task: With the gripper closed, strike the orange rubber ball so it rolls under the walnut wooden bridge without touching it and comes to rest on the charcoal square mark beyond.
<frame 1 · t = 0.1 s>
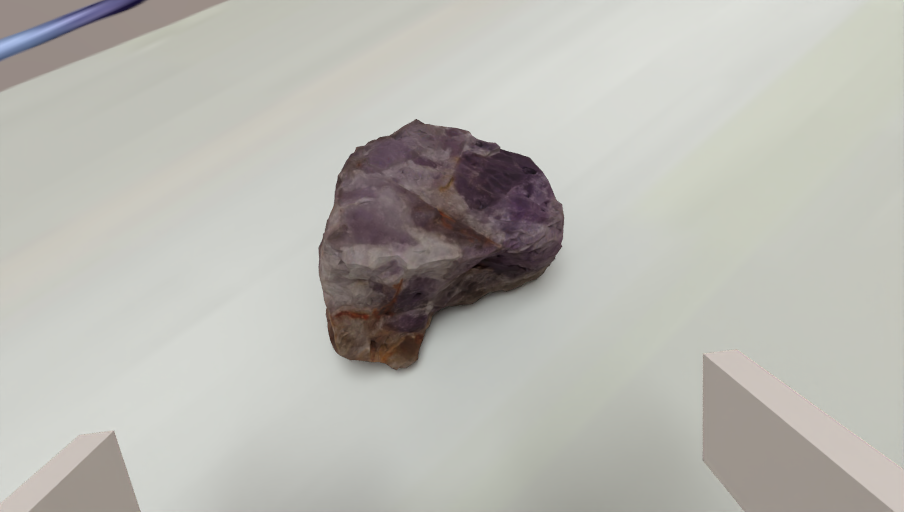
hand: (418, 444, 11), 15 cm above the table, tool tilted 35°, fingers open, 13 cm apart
rock: (431, 265, 29), on the table
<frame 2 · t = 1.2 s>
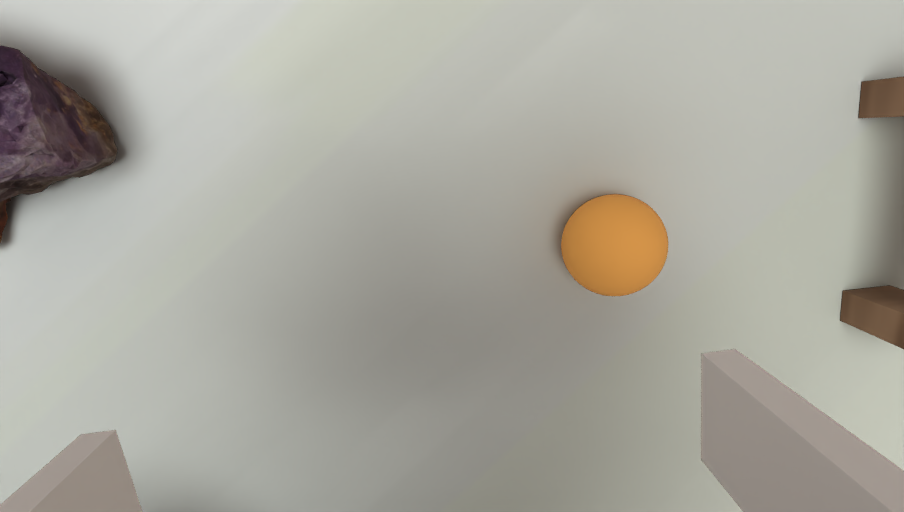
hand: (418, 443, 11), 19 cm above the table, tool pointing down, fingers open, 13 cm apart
ball: (613, 245, 27), on the table
bridge: (874, 205, 30), on the table
rock: (8, 136, 27), on the table
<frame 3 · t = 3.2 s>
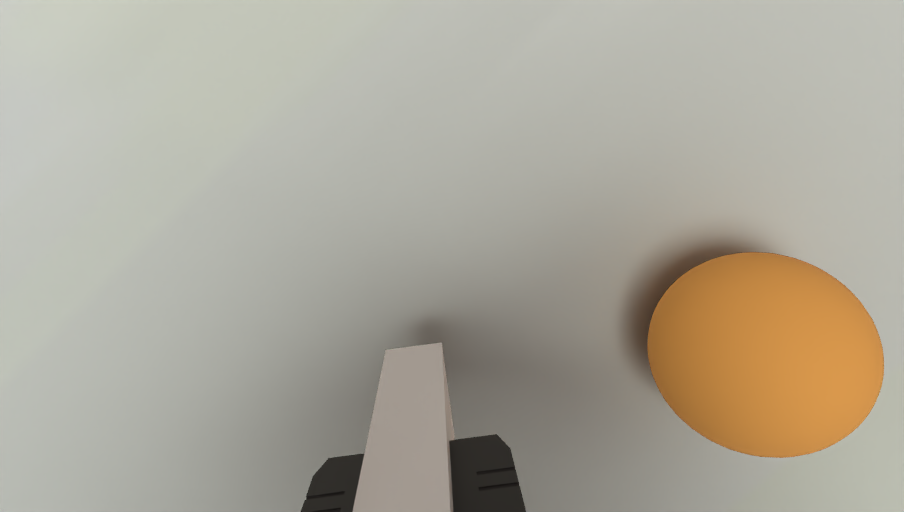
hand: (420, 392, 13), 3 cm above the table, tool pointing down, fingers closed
ball: (753, 351, 14), on the table
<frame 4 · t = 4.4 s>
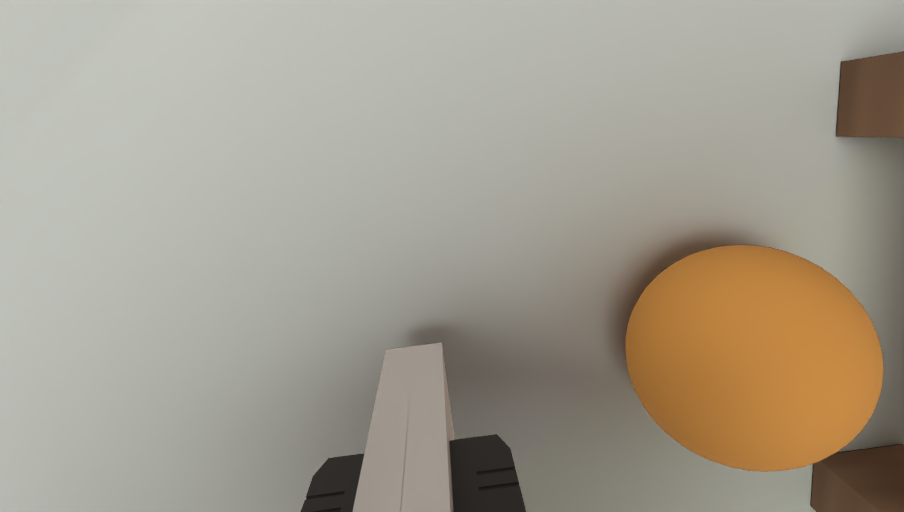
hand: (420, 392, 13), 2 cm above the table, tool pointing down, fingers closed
ball: (740, 353, 13), on the table
bridge: (872, 303, 16), on the table
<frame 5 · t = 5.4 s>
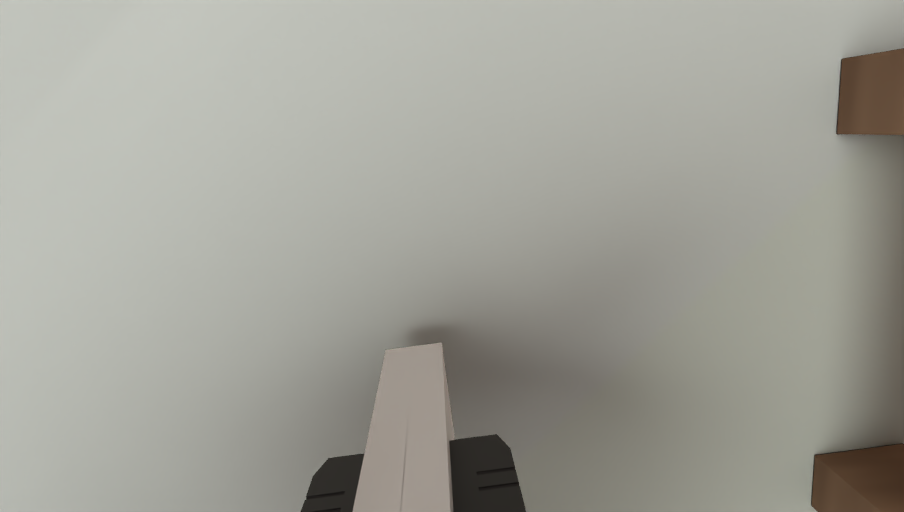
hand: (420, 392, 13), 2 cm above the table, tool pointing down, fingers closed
bridge: (873, 302, 15), on the table
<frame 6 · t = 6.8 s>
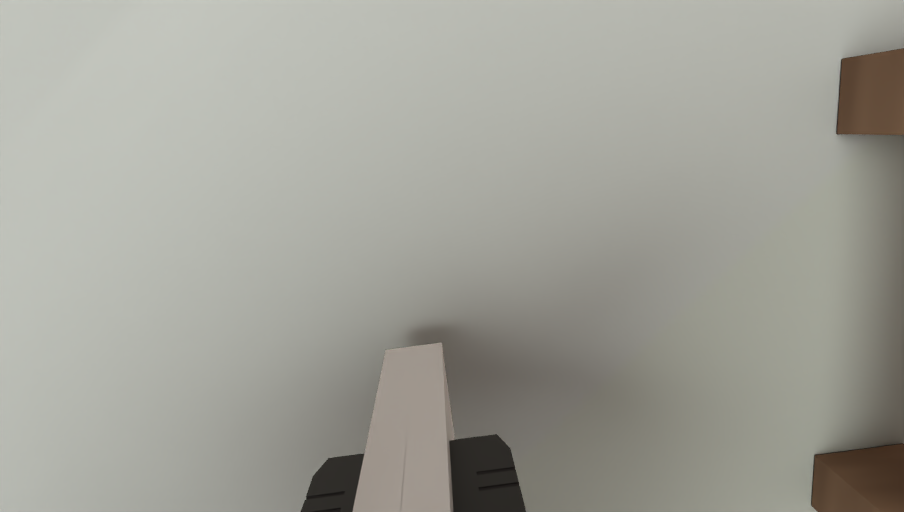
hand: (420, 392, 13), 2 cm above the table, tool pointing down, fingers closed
bridge: (873, 302, 15), on the table
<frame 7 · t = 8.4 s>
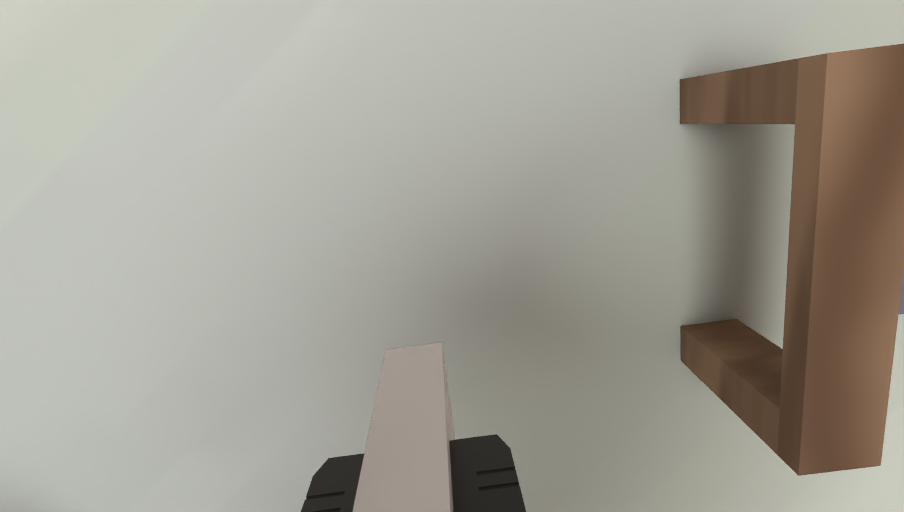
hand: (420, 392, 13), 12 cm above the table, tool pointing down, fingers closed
bridge: (710, 226, 25), on the table
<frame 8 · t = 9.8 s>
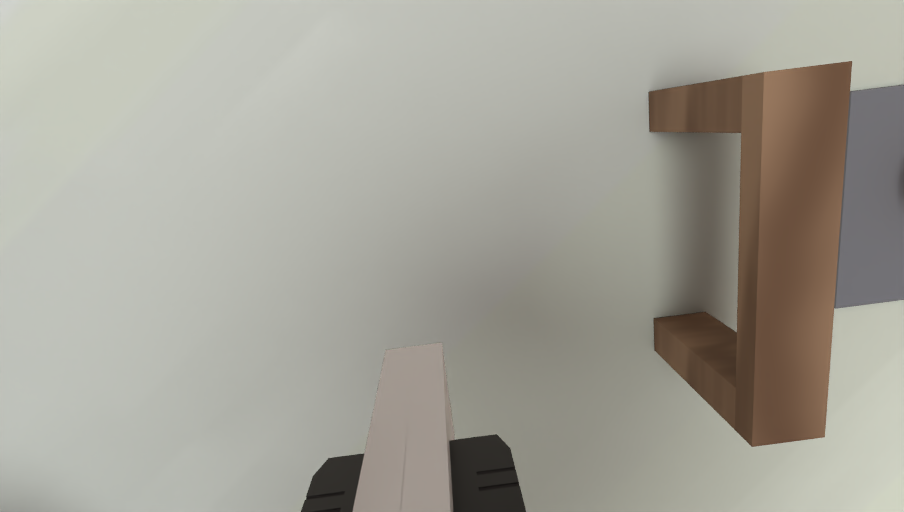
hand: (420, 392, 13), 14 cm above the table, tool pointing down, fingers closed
bridge: (678, 226, 28), on the table
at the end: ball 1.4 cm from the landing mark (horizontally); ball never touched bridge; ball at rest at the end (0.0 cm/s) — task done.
